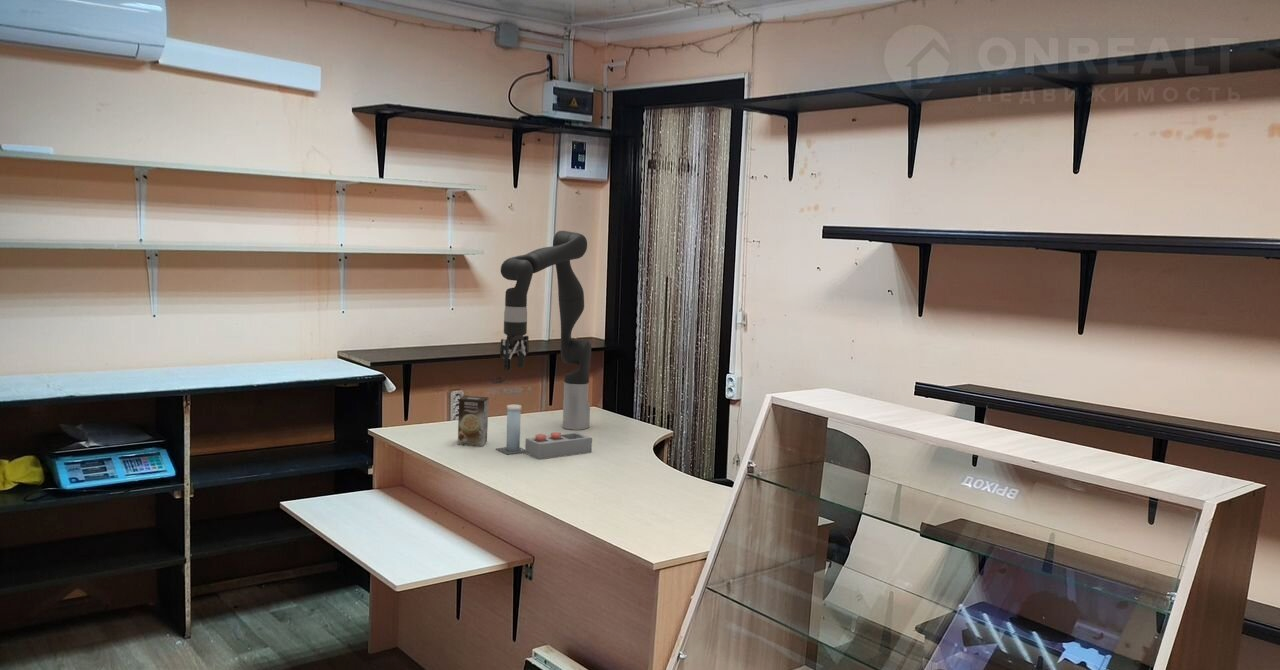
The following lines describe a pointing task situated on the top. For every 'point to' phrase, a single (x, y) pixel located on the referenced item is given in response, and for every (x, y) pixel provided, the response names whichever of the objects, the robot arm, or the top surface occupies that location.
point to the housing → (559, 446)
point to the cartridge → (513, 427)
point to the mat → (510, 451)
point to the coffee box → (473, 420)
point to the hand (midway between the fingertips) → (514, 368)
